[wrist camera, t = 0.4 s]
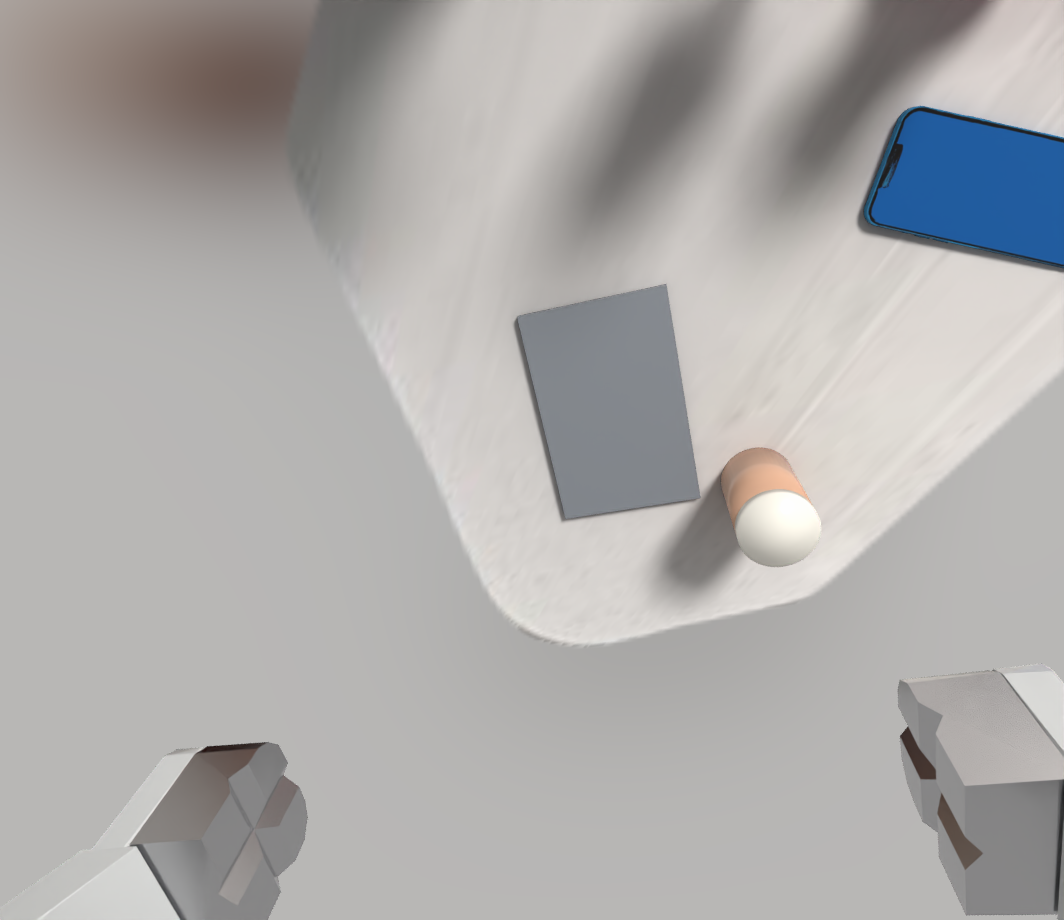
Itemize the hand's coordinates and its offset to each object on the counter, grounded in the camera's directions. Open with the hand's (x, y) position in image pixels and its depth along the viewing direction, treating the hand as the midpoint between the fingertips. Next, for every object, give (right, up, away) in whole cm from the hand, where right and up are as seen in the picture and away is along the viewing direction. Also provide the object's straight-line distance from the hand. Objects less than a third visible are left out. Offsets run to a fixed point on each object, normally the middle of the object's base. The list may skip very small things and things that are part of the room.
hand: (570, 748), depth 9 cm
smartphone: (+30, +22, +37) cm, 52 cm away
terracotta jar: (+17, +2, +46) cm, 49 cm away
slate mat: (+6, +8, +45) cm, 46 cm away
